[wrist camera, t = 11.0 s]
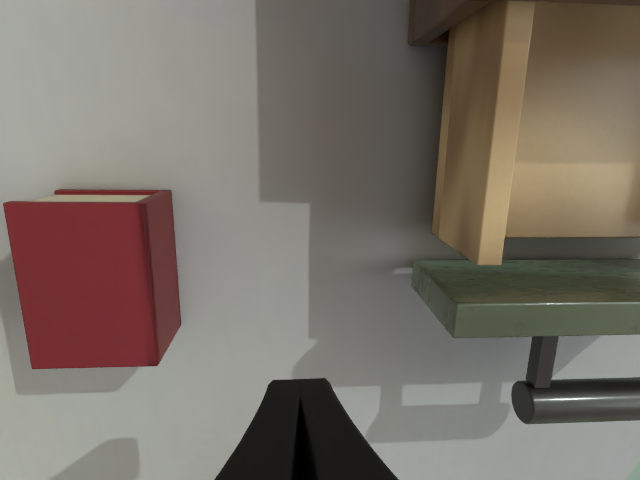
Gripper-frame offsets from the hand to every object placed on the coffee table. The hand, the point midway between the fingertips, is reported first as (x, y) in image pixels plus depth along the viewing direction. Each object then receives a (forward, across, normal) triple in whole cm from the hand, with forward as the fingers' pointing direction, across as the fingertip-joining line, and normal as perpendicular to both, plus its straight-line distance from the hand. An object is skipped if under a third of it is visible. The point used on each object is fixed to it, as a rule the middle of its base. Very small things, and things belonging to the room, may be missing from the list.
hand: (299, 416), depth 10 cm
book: (+9, +7, -1) cm, 12 cm away
